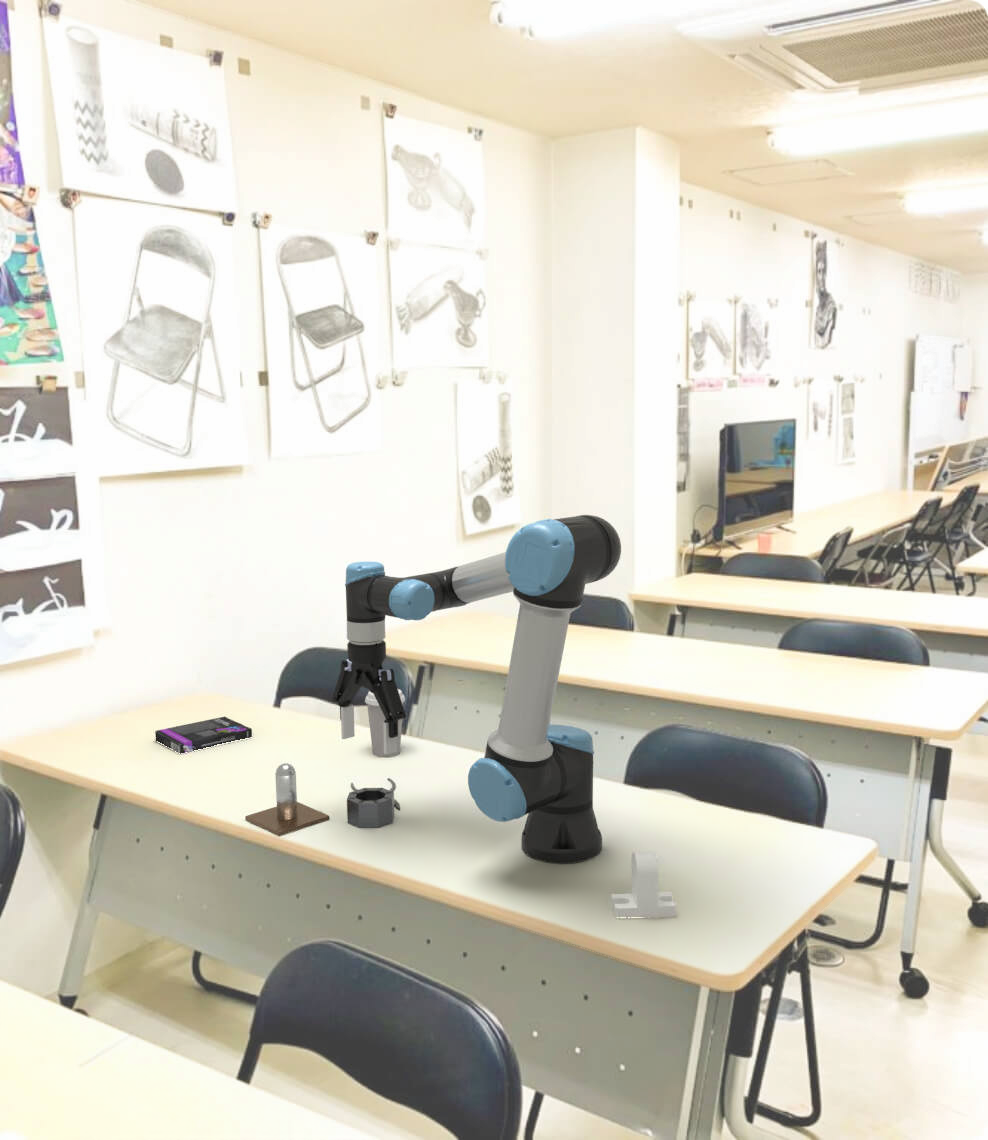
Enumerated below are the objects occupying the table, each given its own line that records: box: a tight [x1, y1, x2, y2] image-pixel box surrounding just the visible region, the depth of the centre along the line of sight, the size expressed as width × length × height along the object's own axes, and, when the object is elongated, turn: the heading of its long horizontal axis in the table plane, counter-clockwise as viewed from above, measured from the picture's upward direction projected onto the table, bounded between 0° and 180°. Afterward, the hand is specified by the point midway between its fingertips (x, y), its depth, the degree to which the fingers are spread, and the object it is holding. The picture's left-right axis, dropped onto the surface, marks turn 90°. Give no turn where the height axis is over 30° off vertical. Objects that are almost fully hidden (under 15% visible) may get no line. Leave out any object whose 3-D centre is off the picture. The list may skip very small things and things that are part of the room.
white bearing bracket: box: [610, 851, 677, 918], centre depth 182 cm, size 5×10×10 cm, turn 93°
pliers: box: [350, 777, 401, 812], centre depth 238 cm, size 10×1×20 cm
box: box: [154, 716, 253, 755], centre depth 277 cm, size 14×4×20 cm
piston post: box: [244, 763, 331, 837], centre depth 223 cm, size 12×12×12 cm
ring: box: [346, 787, 395, 829], centre depth 223 cm, size 9×9×5 cm
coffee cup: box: [364, 688, 406, 758], centre depth 264 cm, size 10×10×15 cm
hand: (368, 745), depth 221 cm, fingers open, 13 cm apart
